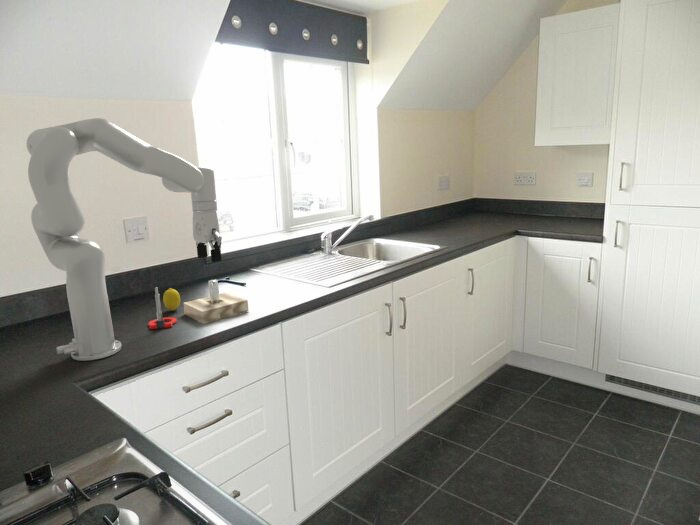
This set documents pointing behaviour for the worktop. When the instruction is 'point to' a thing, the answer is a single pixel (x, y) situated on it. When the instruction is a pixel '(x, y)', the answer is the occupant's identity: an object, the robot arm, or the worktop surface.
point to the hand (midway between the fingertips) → (209, 259)
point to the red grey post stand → (160, 316)
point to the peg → (214, 291)
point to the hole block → (215, 308)
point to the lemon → (171, 299)
